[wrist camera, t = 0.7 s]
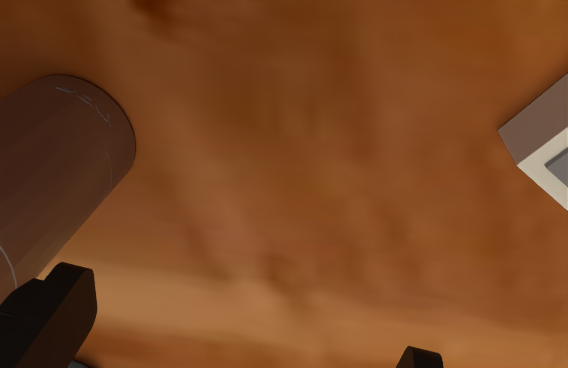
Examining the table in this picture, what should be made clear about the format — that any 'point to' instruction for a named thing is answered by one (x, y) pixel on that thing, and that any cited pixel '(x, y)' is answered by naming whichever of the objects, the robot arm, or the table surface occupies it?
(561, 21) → the table surface
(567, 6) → the table surface
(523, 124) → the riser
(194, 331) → the table surface
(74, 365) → the teapot
